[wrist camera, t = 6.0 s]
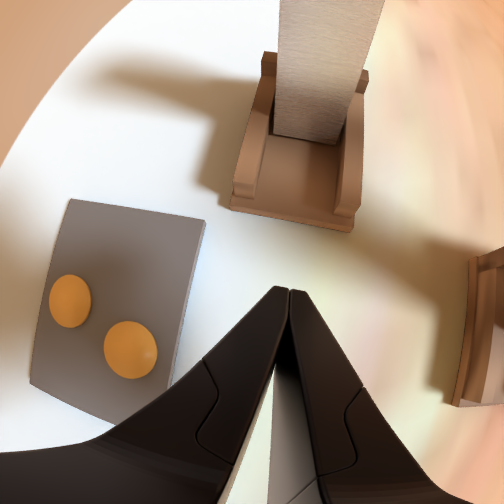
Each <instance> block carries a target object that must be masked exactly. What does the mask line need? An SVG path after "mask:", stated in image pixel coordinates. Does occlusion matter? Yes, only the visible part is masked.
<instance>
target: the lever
mask: <svg viewBox="0 0 504 504" xmlns="http://www.w3.org/2000/svg"><path fill="white" fill-rule="evenodd" d="M384 2H385V0H280V11H279V34H278V55H277V75H276V94H275V112H274V130H273V134H277V135H283V136H289V137H294V138H300V139H305V140H310V141H315V142H320V143H325V144H330V145H336V142H337V139H338V137H339V134H340V131H341V128H342V126H343V123H344V120H345V118H346V115H347V112H348V109H349V106H350V104H351V101H352V98H353V95H354V92H355V90H356V87H357V84H358V81H359V78H360V75H361V72H362V69H363V66H364V63H365V61H366V58H367V55H368V52H369V49H370V46H371V43H372V40H373V36H374V33H375V30H376V27H377V24H378V21H379V18H380V15H381V11H382V8H383V5H384Z"/></svg>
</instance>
